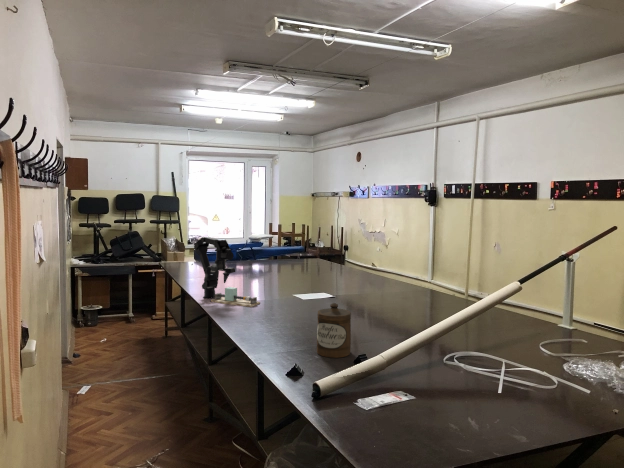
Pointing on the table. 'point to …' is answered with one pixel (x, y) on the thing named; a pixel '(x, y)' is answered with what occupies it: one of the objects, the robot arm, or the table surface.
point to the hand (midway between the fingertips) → (220, 282)
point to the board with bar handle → (236, 301)
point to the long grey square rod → (237, 297)
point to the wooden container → (334, 332)
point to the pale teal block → (230, 293)
